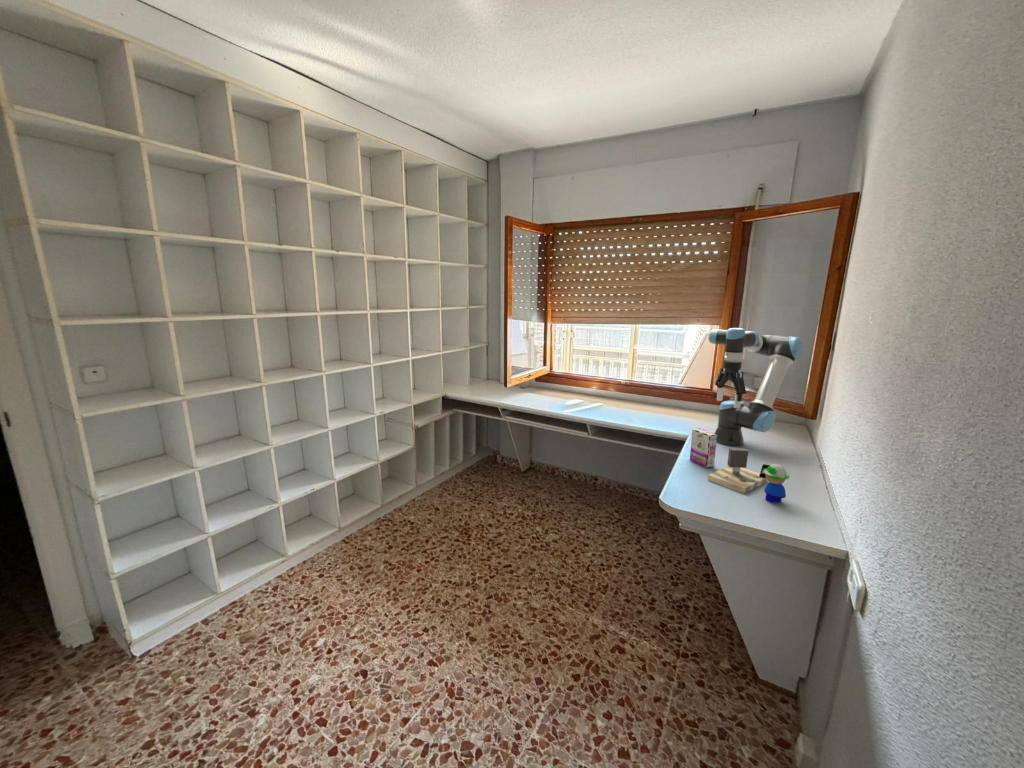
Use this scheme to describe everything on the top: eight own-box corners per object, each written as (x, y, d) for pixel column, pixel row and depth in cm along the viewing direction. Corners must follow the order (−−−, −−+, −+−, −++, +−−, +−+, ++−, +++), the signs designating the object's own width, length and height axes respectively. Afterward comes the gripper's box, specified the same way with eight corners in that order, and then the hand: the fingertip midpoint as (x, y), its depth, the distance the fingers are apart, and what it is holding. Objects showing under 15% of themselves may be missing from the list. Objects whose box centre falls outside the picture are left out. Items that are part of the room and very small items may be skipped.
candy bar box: (714, 466, 197) (718, 434, 193) (706, 468, 195) (710, 435, 192) (696, 458, 207) (699, 427, 204) (689, 459, 205) (692, 428, 202)
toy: (775, 494, 170) (780, 460, 167) (791, 505, 161) (796, 469, 158) (754, 494, 170) (758, 460, 167) (768, 505, 161) (773, 469, 158)
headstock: (731, 469, 194) (732, 464, 194) (767, 481, 181) (768, 475, 181) (707, 479, 183) (708, 474, 183) (744, 493, 170) (745, 487, 170)
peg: (726, 470, 186) (729, 447, 184) (743, 471, 185) (745, 448, 183) (735, 481, 176) (738, 457, 174) (753, 482, 175) (756, 458, 172)
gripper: (710, 357, 207) (706, 398, 212) (742, 365, 183) (737, 411, 187) (724, 356, 208) (719, 397, 212) (758, 365, 184) (752, 410, 188)
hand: (728, 404), depth 200 cm, fingers open, 13 cm apart
